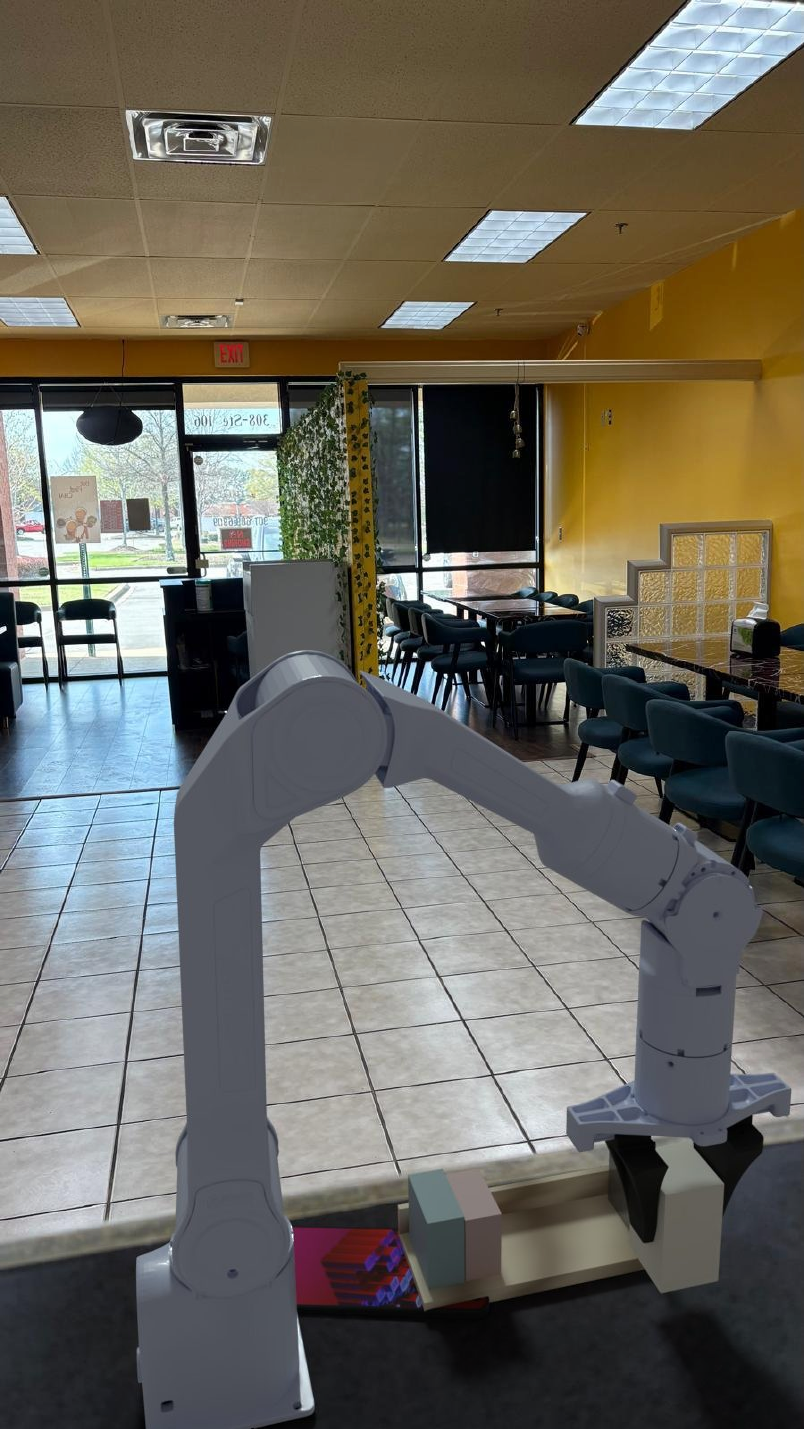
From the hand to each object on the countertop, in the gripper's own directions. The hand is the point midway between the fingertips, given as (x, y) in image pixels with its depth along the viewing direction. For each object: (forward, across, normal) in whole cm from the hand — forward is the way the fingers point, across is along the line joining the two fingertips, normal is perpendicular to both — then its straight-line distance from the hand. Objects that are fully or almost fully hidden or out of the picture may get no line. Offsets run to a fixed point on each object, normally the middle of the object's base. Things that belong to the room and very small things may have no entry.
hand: (674, 1225), depth 66 cm
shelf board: (+6, -7, +6) cm, 11 cm away
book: (+3, 0, 0) cm, 3 cm away
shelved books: (+6, -13, +6) cm, 15 cm away
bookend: (+6, 0, +6) cm, 9 cm away
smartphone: (+6, -18, +8) cm, 20 cm away
